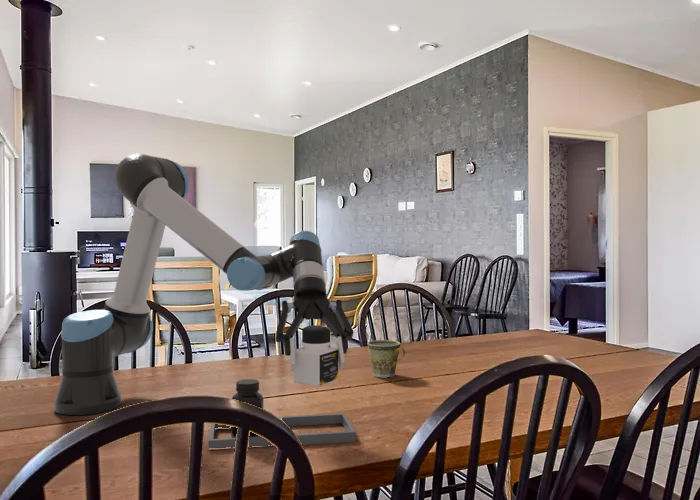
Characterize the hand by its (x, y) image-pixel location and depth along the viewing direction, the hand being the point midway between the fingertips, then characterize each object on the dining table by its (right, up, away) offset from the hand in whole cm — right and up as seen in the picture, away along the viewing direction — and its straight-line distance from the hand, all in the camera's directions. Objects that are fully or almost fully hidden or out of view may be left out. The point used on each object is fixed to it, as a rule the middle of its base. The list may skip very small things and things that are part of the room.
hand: (317, 366), depth 126 cm
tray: (-8, -15, +2) cm, 17 cm away
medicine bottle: (-1, -4, +3) cm, 5 cm away
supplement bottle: (-15, -16, +1) cm, 22 cm away
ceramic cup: (+18, -14, +55) cm, 59 cm away
